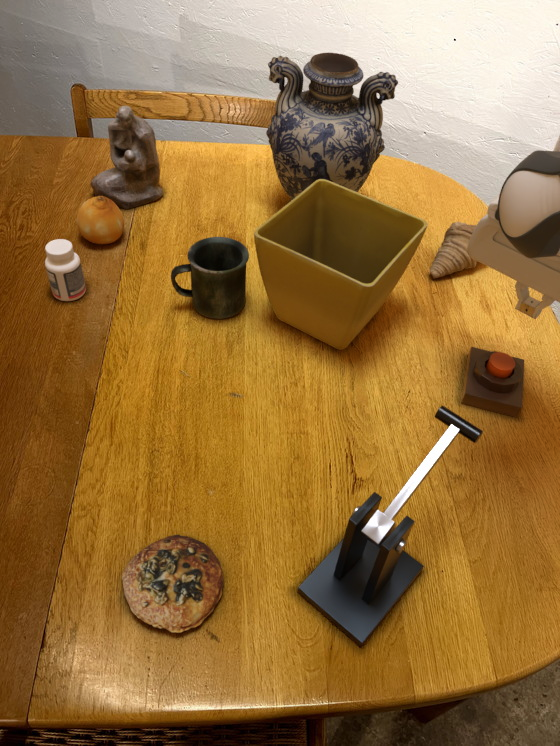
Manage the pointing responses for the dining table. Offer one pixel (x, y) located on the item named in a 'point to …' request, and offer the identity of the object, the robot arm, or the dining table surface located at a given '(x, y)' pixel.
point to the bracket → (362, 576)
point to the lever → (419, 475)
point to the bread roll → (173, 583)
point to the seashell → (453, 251)
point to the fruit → (100, 220)
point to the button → (500, 365)
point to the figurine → (130, 163)
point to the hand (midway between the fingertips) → (527, 312)
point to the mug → (215, 276)
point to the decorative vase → (326, 122)
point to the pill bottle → (64, 270)
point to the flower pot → (334, 259)
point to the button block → (492, 385)
